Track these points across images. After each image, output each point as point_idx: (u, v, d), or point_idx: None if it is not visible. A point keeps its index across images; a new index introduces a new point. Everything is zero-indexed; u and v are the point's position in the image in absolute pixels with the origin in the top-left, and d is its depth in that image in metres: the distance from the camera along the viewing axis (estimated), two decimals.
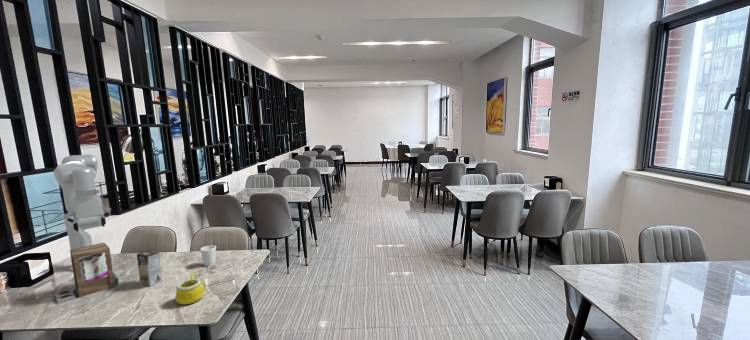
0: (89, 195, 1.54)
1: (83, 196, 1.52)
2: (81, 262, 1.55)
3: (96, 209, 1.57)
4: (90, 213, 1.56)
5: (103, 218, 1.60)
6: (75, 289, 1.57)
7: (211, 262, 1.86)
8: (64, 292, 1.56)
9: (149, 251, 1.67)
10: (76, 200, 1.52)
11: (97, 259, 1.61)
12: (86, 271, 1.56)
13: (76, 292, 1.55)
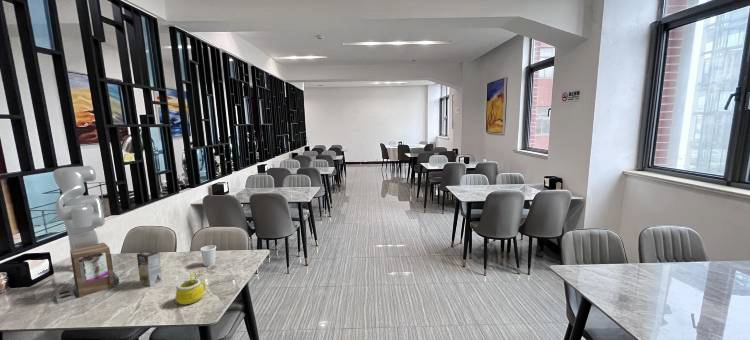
0: (86, 231, 1.66)
1: (81, 232, 1.64)
2: (82, 262, 1.55)
3: (93, 244, 1.69)
4: None
5: None
6: (76, 289, 1.57)
7: (211, 262, 1.86)
8: (64, 292, 1.56)
9: (149, 251, 1.67)
10: (74, 236, 1.64)
11: (98, 258, 1.61)
12: (87, 271, 1.57)
13: (77, 292, 1.55)
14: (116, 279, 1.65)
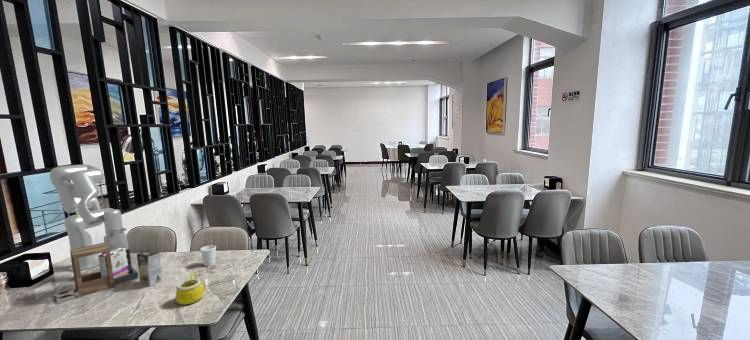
0: (117, 233, 1.76)
1: (112, 235, 1.74)
2: (104, 257, 1.61)
3: (123, 245, 1.79)
4: None
5: None
6: None
7: (211, 262, 1.86)
8: (64, 292, 1.56)
9: (149, 251, 1.67)
10: (106, 238, 1.74)
11: (118, 254, 1.67)
12: None
13: None
14: (135, 273, 1.71)
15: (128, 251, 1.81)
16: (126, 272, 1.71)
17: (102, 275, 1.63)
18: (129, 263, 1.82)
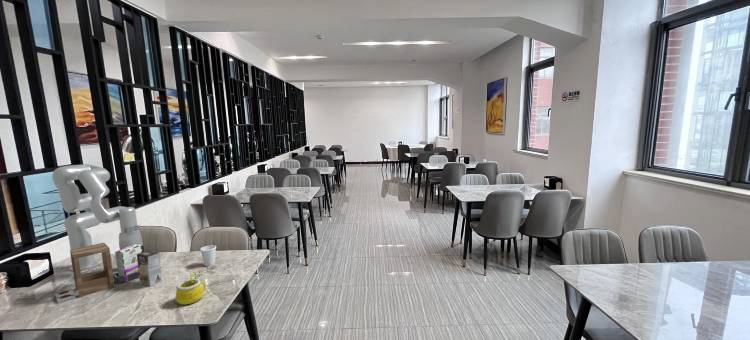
0: (132, 230, 1.81)
1: (128, 232, 1.79)
2: (120, 253, 1.66)
3: (138, 242, 1.84)
4: None
5: None
6: (114, 278, 1.68)
7: (211, 262, 1.86)
8: (64, 292, 1.56)
9: (149, 251, 1.67)
10: (122, 235, 1.78)
11: (134, 250, 1.72)
12: (125, 261, 1.68)
13: (116, 280, 1.66)
14: None
15: (142, 248, 1.86)
16: None
17: (119, 270, 1.68)
18: None
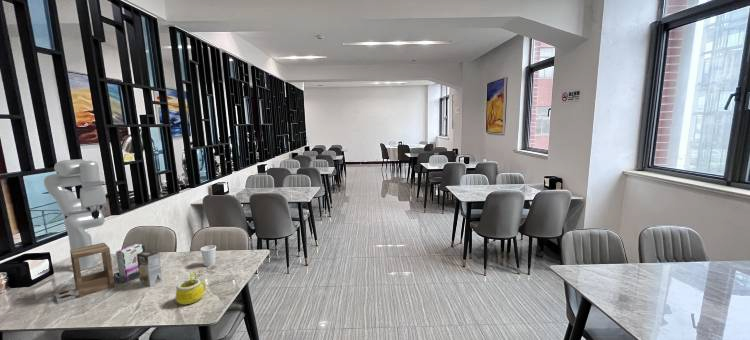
0: (94, 186, 1.70)
1: (89, 186, 1.69)
2: (121, 253, 1.66)
3: (101, 198, 1.74)
4: (95, 202, 1.72)
5: None
6: (115, 278, 1.68)
7: (211, 262, 1.86)
8: (64, 292, 1.56)
9: (149, 251, 1.67)
10: (83, 190, 1.68)
11: (135, 250, 1.73)
12: (126, 261, 1.68)
13: (117, 280, 1.67)
14: None
15: (143, 247, 1.86)
16: None
17: (120, 270, 1.68)
18: None
